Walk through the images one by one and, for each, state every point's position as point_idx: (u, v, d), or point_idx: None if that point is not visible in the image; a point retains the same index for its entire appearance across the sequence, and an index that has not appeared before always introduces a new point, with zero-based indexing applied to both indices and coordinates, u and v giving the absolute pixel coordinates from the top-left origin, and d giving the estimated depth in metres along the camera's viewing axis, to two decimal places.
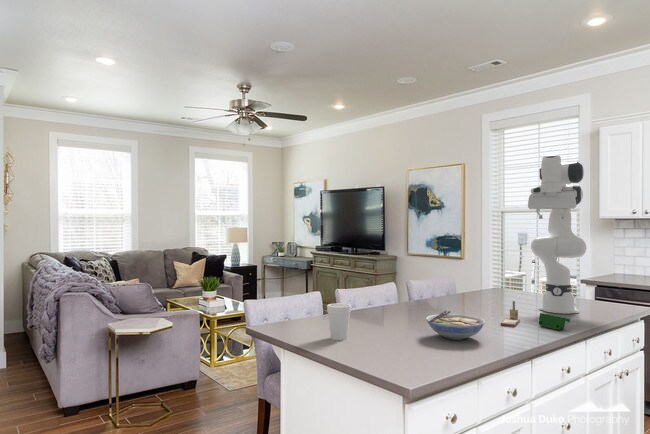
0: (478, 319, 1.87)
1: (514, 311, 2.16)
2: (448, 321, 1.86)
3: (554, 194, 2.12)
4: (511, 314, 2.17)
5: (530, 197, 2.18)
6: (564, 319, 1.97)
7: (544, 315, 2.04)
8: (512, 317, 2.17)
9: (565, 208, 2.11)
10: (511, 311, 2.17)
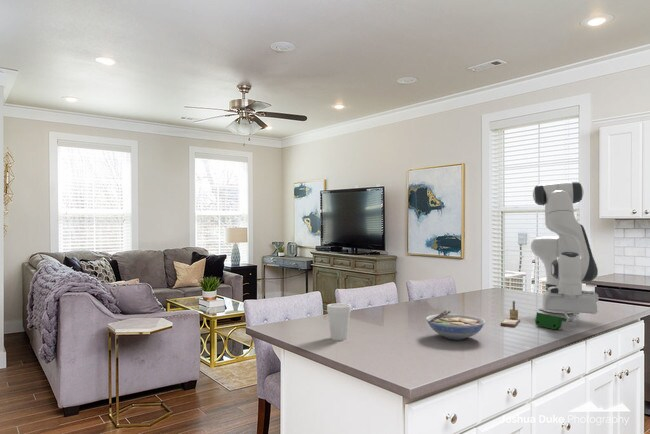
0: (478, 319, 1.87)
1: (514, 311, 2.16)
2: (448, 321, 1.86)
3: (573, 297, 1.96)
4: (511, 314, 2.17)
5: (547, 297, 2.01)
6: (561, 318, 1.97)
7: (541, 314, 2.04)
8: (512, 317, 2.17)
9: None
10: (511, 311, 2.17)
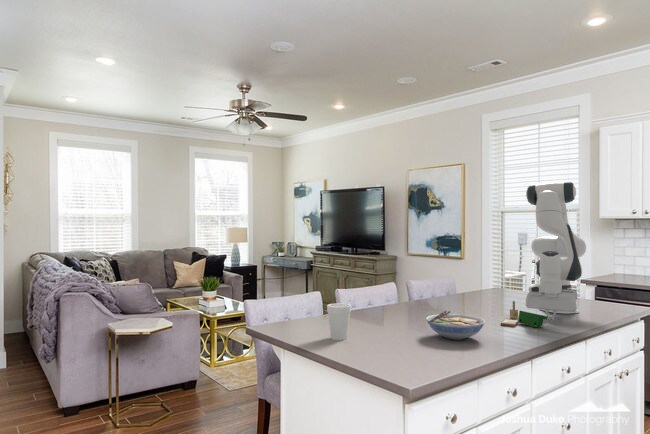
0: (478, 319, 1.87)
1: (514, 311, 2.16)
2: (448, 321, 1.86)
3: (553, 295, 2.00)
4: (511, 314, 2.17)
5: (528, 296, 2.05)
6: (541, 316, 2.01)
7: (523, 313, 2.08)
8: (512, 317, 2.17)
9: (565, 311, 1.99)
10: (511, 311, 2.17)
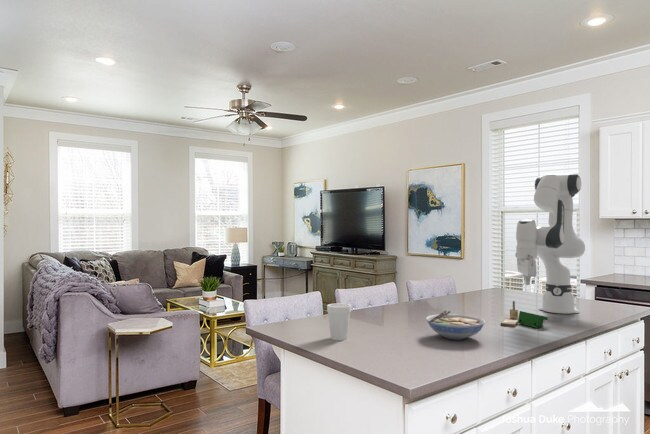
0: (478, 319, 1.87)
1: (514, 311, 2.16)
2: (448, 321, 1.86)
3: (521, 260, 2.12)
4: (511, 314, 2.17)
5: (517, 261, 2.22)
6: (541, 317, 2.01)
7: (523, 313, 2.08)
8: (512, 317, 2.17)
9: (526, 275, 2.08)
10: (511, 311, 2.17)
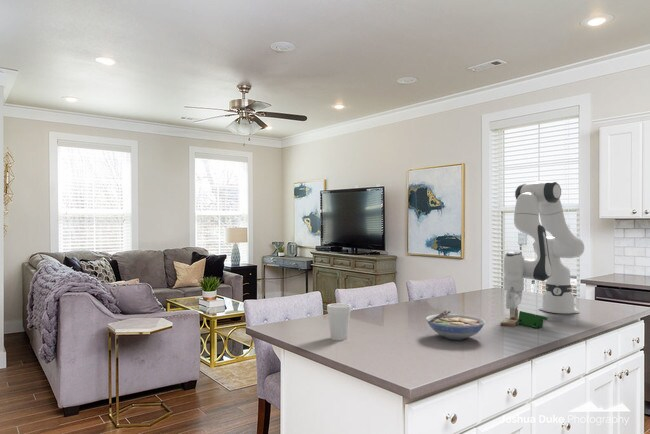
0: (478, 319, 1.87)
1: None
2: (448, 321, 1.86)
3: None
4: None
5: None
6: (541, 317, 2.01)
7: (523, 313, 2.08)
8: (512, 317, 2.17)
9: None
10: None
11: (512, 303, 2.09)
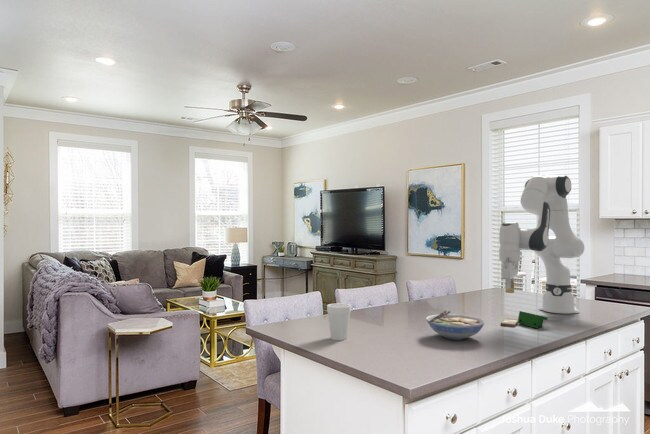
0: (478, 319, 1.87)
1: None
2: (448, 321, 1.86)
3: (502, 263, 2.10)
4: None
5: None
6: (541, 317, 2.00)
7: (523, 313, 2.08)
8: (508, 289, 2.09)
9: None
10: None
11: (508, 273, 2.01)
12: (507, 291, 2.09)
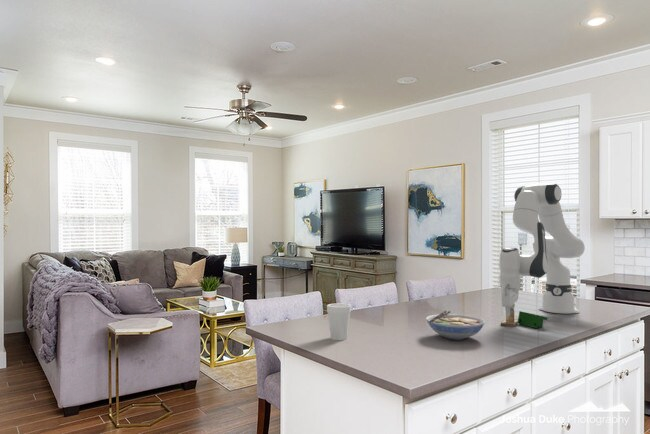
0: (478, 319, 1.87)
1: None
2: (448, 321, 1.86)
3: (502, 289, 2.10)
4: None
5: None
6: (541, 317, 2.00)
7: (523, 313, 2.08)
8: (508, 318, 2.08)
9: None
10: None
11: (508, 301, 2.01)
12: (507, 320, 2.09)
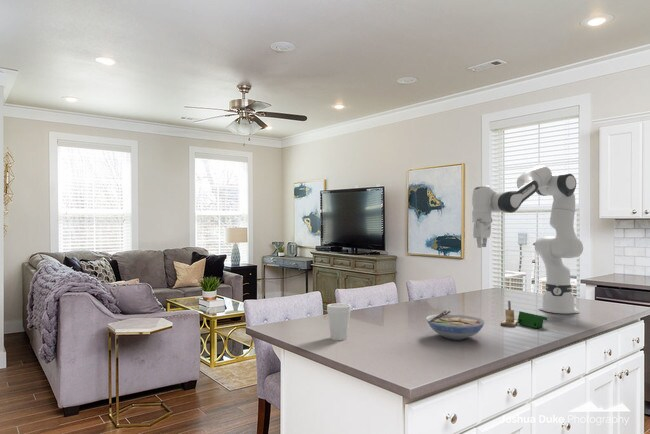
0: (478, 319, 1.87)
1: (509, 311, 2.08)
2: (448, 321, 1.86)
3: None
4: (507, 314, 2.09)
5: None
6: (541, 317, 2.00)
7: (523, 313, 2.08)
8: (508, 318, 2.09)
9: None
10: (506, 311, 2.09)
11: (479, 232, 2.15)
12: (507, 320, 2.09)
